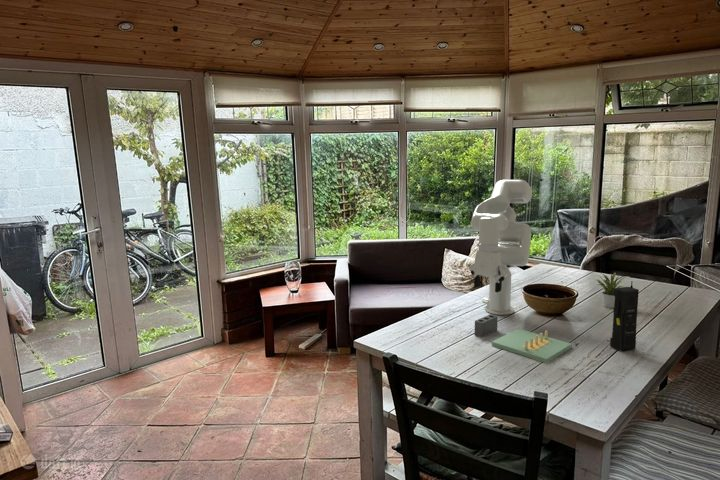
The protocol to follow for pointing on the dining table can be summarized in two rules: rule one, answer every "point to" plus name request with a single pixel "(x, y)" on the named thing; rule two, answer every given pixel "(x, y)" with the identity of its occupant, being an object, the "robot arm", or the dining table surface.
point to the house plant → (609, 290)
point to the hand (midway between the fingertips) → (487, 289)
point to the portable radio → (624, 318)
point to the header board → (532, 345)
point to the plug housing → (486, 325)
